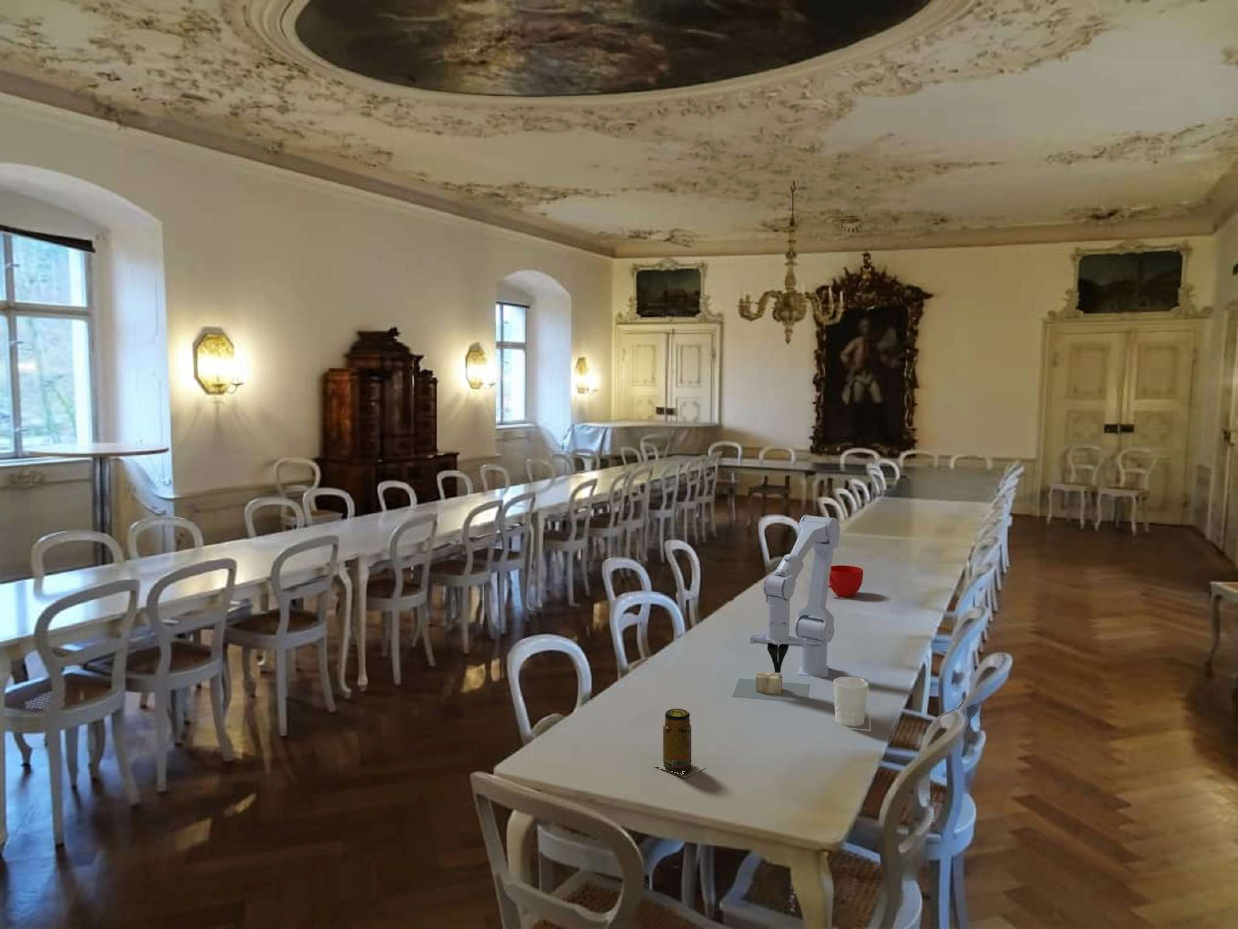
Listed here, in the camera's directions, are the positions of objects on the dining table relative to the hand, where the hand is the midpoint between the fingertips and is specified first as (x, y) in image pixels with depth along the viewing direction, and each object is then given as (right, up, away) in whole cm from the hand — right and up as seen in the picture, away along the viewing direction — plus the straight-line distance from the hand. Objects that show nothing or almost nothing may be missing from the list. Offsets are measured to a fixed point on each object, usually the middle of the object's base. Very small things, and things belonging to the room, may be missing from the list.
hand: (777, 671), depth 232 cm
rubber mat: (-1, -6, +1) cm, 6 cm away
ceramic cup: (+42, +5, +101) cm, 109 cm away
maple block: (+1, -3, 0) cm, 3 cm away
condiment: (-29, -11, -43) cm, 53 cm away
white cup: (+14, -8, -19) cm, 25 cm away
